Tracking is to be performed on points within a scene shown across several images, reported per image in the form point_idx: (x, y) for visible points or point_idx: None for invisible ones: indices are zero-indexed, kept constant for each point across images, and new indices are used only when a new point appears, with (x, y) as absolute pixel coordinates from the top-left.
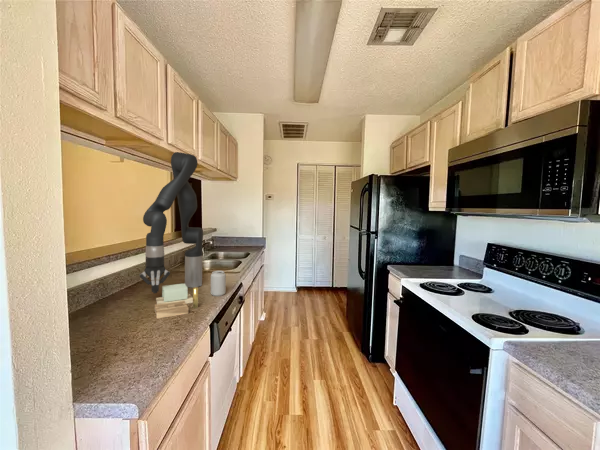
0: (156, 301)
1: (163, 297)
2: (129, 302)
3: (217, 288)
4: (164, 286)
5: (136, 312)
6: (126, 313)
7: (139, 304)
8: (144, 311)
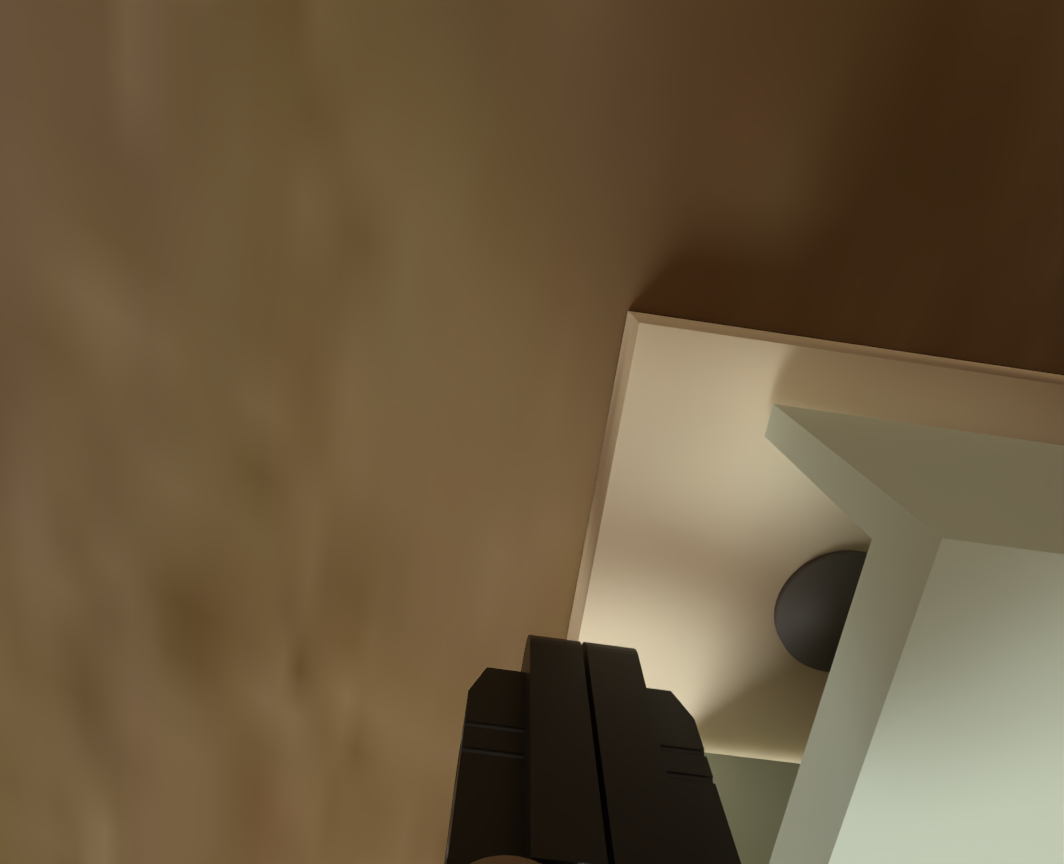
0: (609, 425)
1: (797, 401)
2: (50, 41)
3: None
4: (974, 670)
5: (190, 761)
6: (34, 722)
7: (265, 351)
8: (314, 783)
